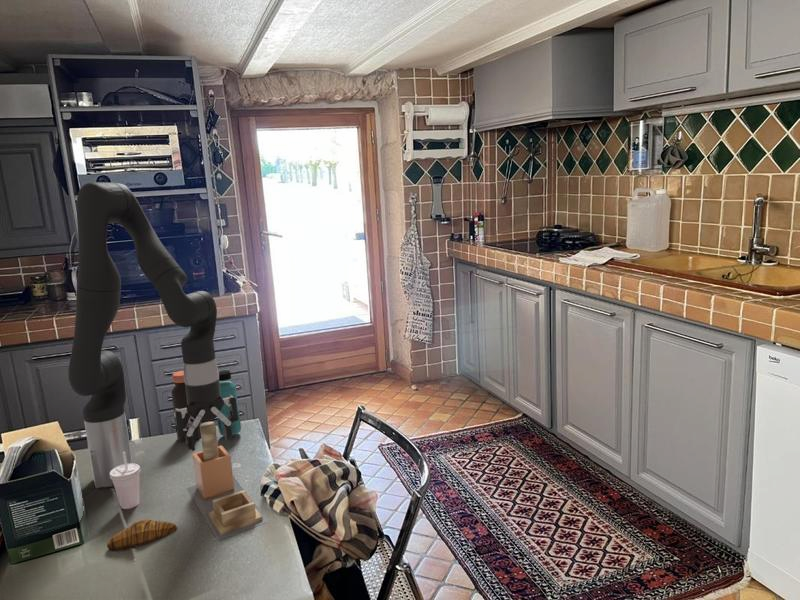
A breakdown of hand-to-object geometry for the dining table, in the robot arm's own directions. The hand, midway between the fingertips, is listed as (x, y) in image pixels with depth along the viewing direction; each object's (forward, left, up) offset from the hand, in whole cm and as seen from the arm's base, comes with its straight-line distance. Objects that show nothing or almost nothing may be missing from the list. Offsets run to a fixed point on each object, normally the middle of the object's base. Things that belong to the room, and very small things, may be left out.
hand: (210, 444), depth 136 cm
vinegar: (+3, +37, -13) cm, 39 cm away
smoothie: (-18, +6, -13) cm, 23 cm away
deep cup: (0, 0, -12) cm, 12 cm away
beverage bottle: (+13, +30, -13) cm, 35 cm away
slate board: (0, -8, -13) cm, 15 cm away
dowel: (0, 0, -11) cm, 11 cm away
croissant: (-18, -10, -13) cm, 24 cm away
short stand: (0, -15, -12) cm, 19 cm away
